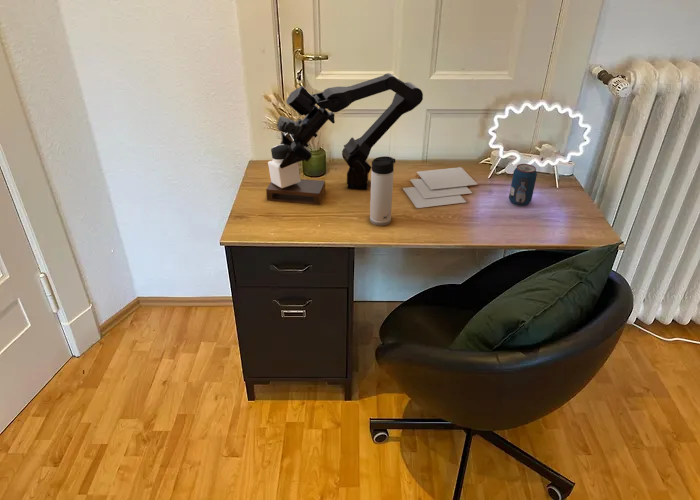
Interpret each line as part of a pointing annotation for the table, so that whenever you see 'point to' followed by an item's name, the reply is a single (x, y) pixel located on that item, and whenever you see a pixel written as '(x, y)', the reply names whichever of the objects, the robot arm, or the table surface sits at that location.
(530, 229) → the table surface
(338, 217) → the table surface
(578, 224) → the table surface
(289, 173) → the medicine bottle
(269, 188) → the brown slotted box
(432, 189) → the paper stack
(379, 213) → the travel mug
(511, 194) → the soda can
